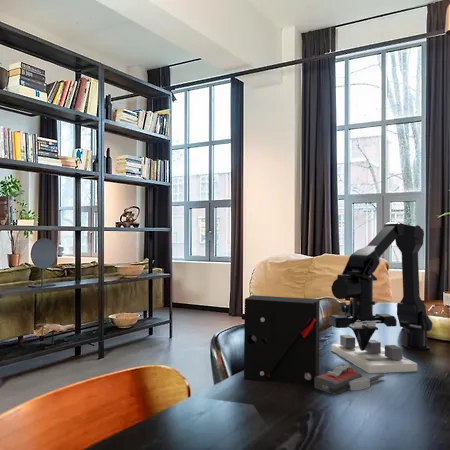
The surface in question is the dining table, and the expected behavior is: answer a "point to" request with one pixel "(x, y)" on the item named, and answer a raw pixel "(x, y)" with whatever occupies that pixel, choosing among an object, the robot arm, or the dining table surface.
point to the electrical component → (281, 339)
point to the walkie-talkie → (343, 380)
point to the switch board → (374, 360)
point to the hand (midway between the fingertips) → (362, 350)
